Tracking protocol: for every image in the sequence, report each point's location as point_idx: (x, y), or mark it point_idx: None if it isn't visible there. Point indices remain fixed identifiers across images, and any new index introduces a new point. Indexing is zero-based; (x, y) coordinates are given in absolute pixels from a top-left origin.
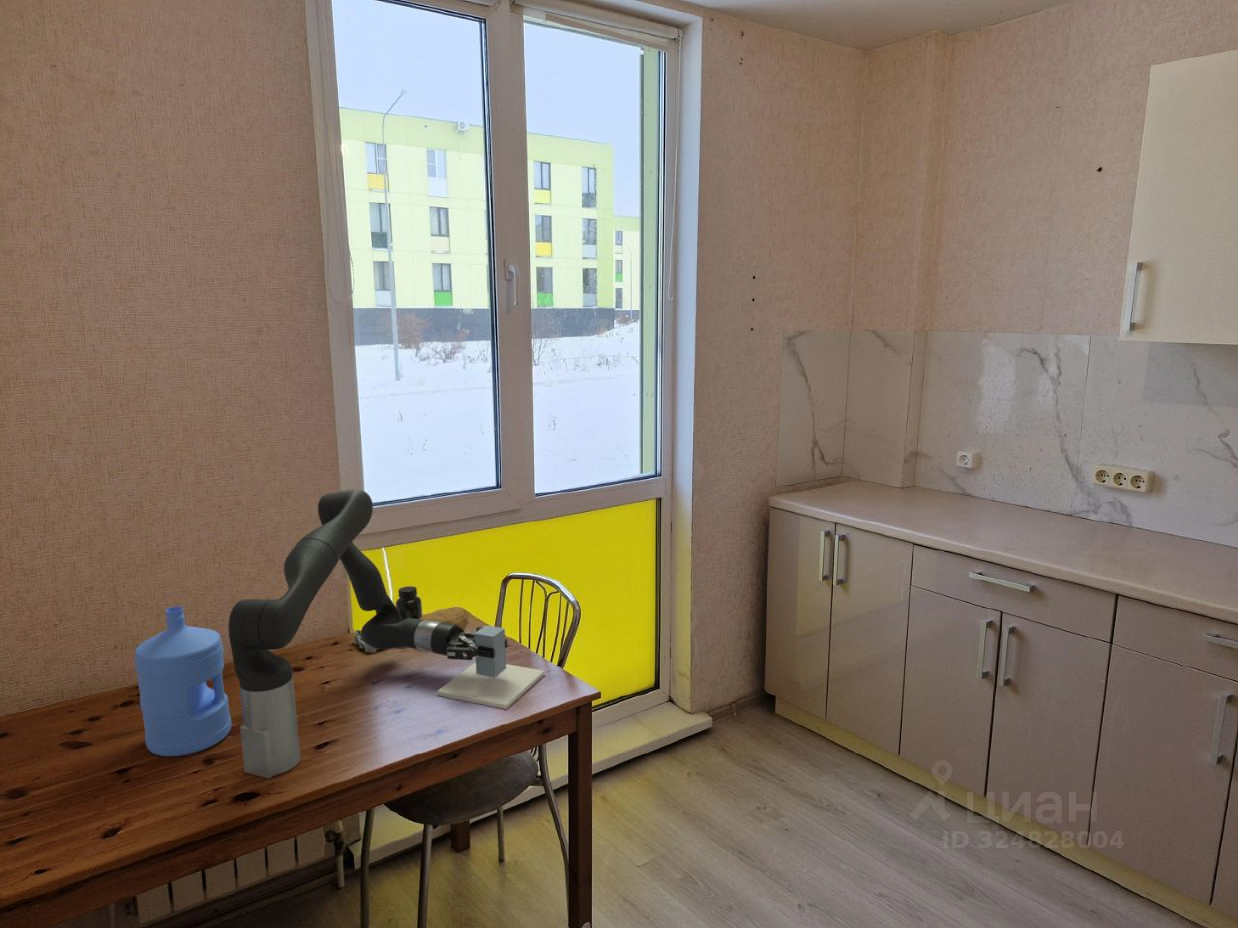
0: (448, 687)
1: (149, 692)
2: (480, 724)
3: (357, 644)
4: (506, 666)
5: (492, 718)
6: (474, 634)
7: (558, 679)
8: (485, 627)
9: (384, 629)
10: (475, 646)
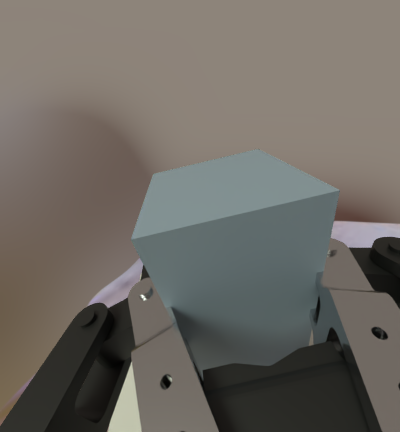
0: None
1: None
2: (380, 236)
3: None
4: (134, 381)
5: (343, 237)
6: (210, 412)
7: None
8: (176, 218)
9: None
10: (337, 246)
